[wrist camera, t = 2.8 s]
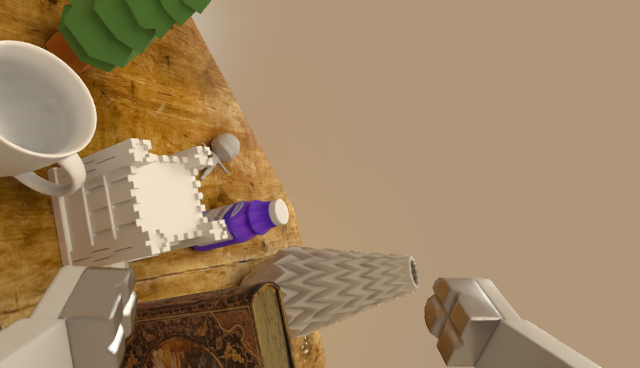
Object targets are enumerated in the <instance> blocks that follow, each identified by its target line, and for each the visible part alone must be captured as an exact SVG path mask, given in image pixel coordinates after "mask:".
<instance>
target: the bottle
mask: <svg viewBox="0 0 640 368" xmlns="http://www.w3.org/2000/svg"><path fill="white" fill-rule="evenodd" d="M202 214H203V217H207V220H208V222H211V221H218V220H224V221H225V226H226V227H223V228H222V231H227V236H228V238H225V239H221V240H217V241H212V242H208V243H203V244H199V245H195V246H192V248H194V249H195V250H197V251H207V250H212V249H216V248H220V247H224V246H229V245H233V244H238V243H243V242H246V241H248V240H250V239H251V238H253V237H254V236H256V235H257V234H258V235H263V234H265V233H266V232H267V231H268V230H269V229H271V228H273V227H276V226H280V225H283V224H286V223H287V221H288V217H289V214H288V209H287V206H286V204H285V203H284V201H282V200H281V199H278V200H274V201H268V202H262V201H259V200H254V201H252V202H247V201H241V202H238V203H234V204H231V205H227V206H223V207H220V208H216V209H212V210H209V211H205V212H202Z"/></svg>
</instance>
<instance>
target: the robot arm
mask: <svg viewBox="0 0 640 368" xmlns="http://www.w3.org/2000/svg"><path fill="white" fill-rule="evenodd" d="M135 282H136V275H135V270H134V269H133V268H116V267H96V266H88V267H87V266H69V265H65V266H63V267H62V268H61V269H59V271H58V272H57V274H56V275H55V277H54V279H53V280H52V282H51V283H50V285H49V286H48V288H47V289H46V291H45V293H44V294H43V296H42V297H41V299H40V300H39V302H38V303H37V305H36V306H35V308H34V310H33V311H32V313H31V314H30V316H29V317H28V319H19V320H17V321H15V322H14V323H12V324H10V325H9V326H7V327H5V328H4V329H2V330H0V368H120V366H121V363H122V360H123V357H124V354H125V351H126V347H125V339H126V338H127V337H128V336H129V335H130V334H131V332H132V329H133V326H134V322H135V317H136V310H137V295H136V294H135V293H134V292H133V288H134V285H135ZM433 290H434V293H435V294H434V295H433V296H431V297H430V298H429V299H428V300H427V303H426V306H425V322H426V325H427V327H428V329H429V331H430V333H431V334H432V335H434V336H435V337H436V338H438V342H437V348H438V350H439V352H440V353H441V356H442V358H443V360H444V362H445V363H446V365H447V366H475V368H601V367H600V366H598V365H596V364H595V363H593V362H592V361H590V360H589V359H587V358H585V357H584V356H582V355H581V354H579V353H577V352H576V351H574V350H573V349H571V348H570V347H568V346H567V345H565V344H563V343H562V342H560V341H559V340H557V339H555V338H554V337H552V336H551V335H549V334H548V333H546V332H544V331H543V330H541V329H540V328H538V327H536V326H535V325H533V324H532V323H530V322H528V321H527V320H521V319H520V317H519V316H518V315H517V314H516V312H515V311H514V310H513V308H512V307H511V306H510V305H509V303H508V302H507V301H506V299H505V298H504V297H503V296H502V294H501V293H500V292H499V291H498V289H497V288H496V287H495V285H494V284H493V283H492V282H491V281H490V280H488V279H487V278H438V279H437V280H436V281H435V283H434V286H433Z"/></svg>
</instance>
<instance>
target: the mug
mask: <svg viewBox="0 0 640 368" xmlns="http://www.w3.org/2000/svg"><path fill="white" fill-rule="evenodd" d="M96 121H97V117H96V109H95V105H94V102H93V99H92V97H91V95H90V93H89V91H88V89H87V87H86V85H85V84H84V82H83V81H82V80H81V78H80V77H79V76H78V75H77V74H76V73H75V72H74V71H73V70H72V69H71V68H70V67H69V66H68V65H67V64H66V63H65V62H63V61H62V60H61V59H59V58H58V57H56V56H55V55H53V54H52V53H50V52H48V51H47V50H45V49H42V48H40V47H38V46H35V45H32V44H29V43H25V42H21V41H12V40H3V41H0V177H7V176H13V177H14V178H16V179H17V180H18V181H20V182H21V183H23V184H24V185H26V186H28V187H29V188H31V189H33V190H35V191H37V192H39V193H42V194H45V195H49V196H53V197H63V196H68V195H70V194H73V193H74V192H76V191H77V190H78V189H79V188H80V187H81V186H82V185H83V184H84V182H85V179H86V170H85V167H84V164H83V162H82V160H81V159H80V157H79V156H78V154H77V152H79V151H81V150H82V149H83V148H85V147H86V146H87V144H88V143H89V142H90V141H91V139H92V137H93V135H94V132H95V129H96ZM56 162H57V163H58V164H59V165H60V166H61V167H62V168H63V169H65V170H66V172H67V173H68V174H69V175H70V177H71V181H72V182H71V184H69V185H60V184H56V183H53V182H50V181H48V180H45V179H43V178H42V177H40V176H38V175H36V174H35V173H33V172H32V171H34V170H37V169H41V168H43V167H46V166H50V165H51V164H53V163H56Z"/></svg>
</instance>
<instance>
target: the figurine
mask: <svg viewBox="0 0 640 368" xmlns="http://www.w3.org/2000/svg"><path fill="white" fill-rule="evenodd" d="M201 144H202V146H203V147H207V146H206V145H205V143H203V142H201ZM211 149H212V151H211V150H210V152H211V155H210V157H209V158H212V162H213V165H212V166H209V167H206V170H205V171H204V173H203V175H202V176H201V177H200V178H199V179H200V181H203V180H204V178H205V177H206V176H207V175H208V174H210V172H211V171H212V170H213V169H214V167H215V166H216V164H218V165H219V166H220V168H221V169H222V170H223V171H224V172H226V173H227V174H229V173H228V171H227V170H226V169H225V167H224V166H223V164H222V163H221V161H224V162H228V161H231V160H232V159H233V158H235V157H236V156H237V155H238V153H239V151H240V143H239V141H238V139H237V138H236V137H235V136H234V135H232V134H229V133H225V134H220V135H219V136H217V137H216V138H215V139H213V140H212V143H211ZM220 160H221V161H220ZM203 169H204V168H203ZM201 170H202V169H200V170H198V172H199V171H201Z"/></svg>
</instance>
